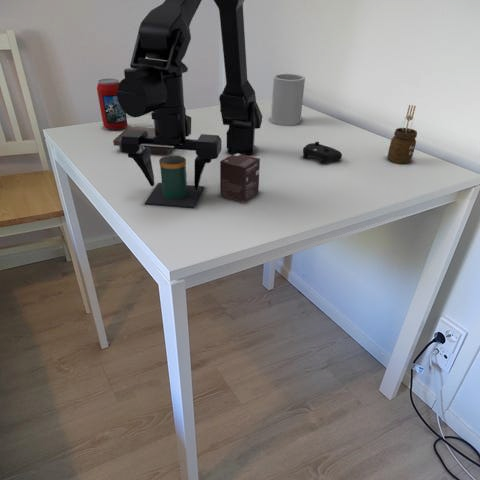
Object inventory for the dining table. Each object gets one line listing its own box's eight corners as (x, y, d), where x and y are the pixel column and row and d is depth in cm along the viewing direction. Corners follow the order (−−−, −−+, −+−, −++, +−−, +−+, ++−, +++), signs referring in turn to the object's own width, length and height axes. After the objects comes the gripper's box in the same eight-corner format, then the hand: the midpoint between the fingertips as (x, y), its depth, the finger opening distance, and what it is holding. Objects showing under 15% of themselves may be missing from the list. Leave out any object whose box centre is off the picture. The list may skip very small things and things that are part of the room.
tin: (190, 189, 89) (188, 156, 85) (184, 200, 86) (182, 165, 81) (166, 188, 90) (163, 154, 85) (159, 198, 86) (155, 163, 81)
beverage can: (114, 132, 119) (106, 84, 111) (98, 127, 122) (90, 80, 114) (132, 127, 123) (126, 80, 115) (117, 122, 126) (110, 76, 118)
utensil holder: (386, 162, 106) (398, 110, 98) (387, 154, 110) (399, 103, 102) (410, 165, 104) (425, 113, 97) (411, 157, 109) (425, 106, 101)
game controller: (344, 155, 106) (338, 142, 101) (333, 174, 106) (326, 162, 101) (312, 146, 111) (305, 132, 105) (302, 164, 111) (294, 151, 106)
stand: (180, 141, 114) (180, 129, 112) (169, 156, 105) (168, 144, 103) (130, 137, 115) (128, 126, 114) (114, 152, 106) (112, 140, 104)
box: (244, 203, 86) (245, 167, 81) (219, 196, 88) (219, 160, 84) (259, 193, 90) (261, 158, 85) (235, 186, 92) (235, 152, 88)
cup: (268, 117, 134) (271, 73, 126) (296, 116, 135) (301, 73, 127) (273, 125, 127) (276, 80, 119) (303, 125, 128) (308, 80, 120)
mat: (203, 188, 91) (203, 186, 91) (194, 208, 84) (193, 206, 83) (158, 184, 92) (158, 182, 92) (144, 204, 85) (144, 202, 84)
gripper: (225, 96, 82) (225, 175, 92) (132, 90, 84) (142, 169, 94) (216, 111, 74) (217, 197, 84) (112, 105, 75) (125, 189, 85)
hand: (174, 187), depth 87 cm, fingers open, 9 cm apart
